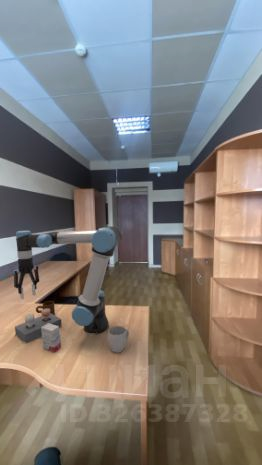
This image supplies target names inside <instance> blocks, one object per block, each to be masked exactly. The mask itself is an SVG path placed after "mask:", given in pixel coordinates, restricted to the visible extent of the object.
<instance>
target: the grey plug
mask: <svg viewBox="0 0 262 465" xmlns="http://www.w3.org/2000/svg"><path fill="white" fill-rule="evenodd" d="M35 318H36V317H35V314H27V315H26V316H24V320H25V321H24V323H25V322H26V323H27V325H28V329H29V328H32V327H33V321H34V320H35Z"/></svg>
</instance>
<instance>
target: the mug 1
mask: <svg viewBox="0 0 262 465" xmlns="http://www.w3.org/2000/svg"><path fill="white" fill-rule="evenodd" d="M47 308H49V309H50V313H51V314H53V315H55V316H56V314H55V313H56V312H55V311H56V310H55V302H54V301H51V300H49V301H45V302H43V303H42V305H38V306H36V308H35V312H36V313H37V314H42V310H43V309H47Z"/></svg>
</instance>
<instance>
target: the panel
mask: <svg viewBox="0 0 262 465" xmlns="http://www.w3.org/2000/svg"><path fill="white" fill-rule="evenodd" d="M48 323H50V324H53V325H56V326H59V329H60V328H62V326H63V324H62V318H60V317H58V316H56V314H55V315H53V314H51V313H50V315H49V320H48V321H46V322H44V316H42V315H41V316H39V317H35V320H34V321H33V327H32V328H29V329H28V325H27V323H26V322H25V321H24V322H23V323H21V324H17V325H15V326H14V332H15V336H17V337H18V338H19V339H20V340H21V341H22V342H24V344H28V343H30V342H32V341H34V340H37V339H38V338H42V331H41V327H42V326H44V325H46V324H48Z"/></svg>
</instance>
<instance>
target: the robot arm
mask: <svg viewBox="0 0 262 465" xmlns="http://www.w3.org/2000/svg"><path fill="white" fill-rule="evenodd" d="M15 235H16V237H15V243H16V248H17V258H18V259H17V264H18V265H17V266H18V267H17V268H16V269H13V270H12V273H13V288H15V289H17V293H18V294H19V295H20V296H19V297H20V300H24V299H25V297H24V296H25V294H24V288H23V283H24V278H25V276H26V275H27V274H28V275H29V278H30V280H31V282H32V283H31V295H32V296H35V297H36V296H37V294H36V290H37V285H38V283H40V275H39V266H38V265H34V259H33V248H40V249H44V248H49V247H51V245H65V244H68V245H69V244H70V245H72V244H74V245H75V244H91V245H92V247H91V252H92V254H93V255H92V258H91V262H90V266H89V269H88V273H87V277H86V280H85V284H84V287H83V291H82V294H80V295H79V296H78V300H77V303H76V306H75V307H74V308H73V309H72V312H71V318H72V320H73V322H74V323H75V324H76V325H78V326H80V327H83V330H84V332H85V333H87V334H90V335H92V334H93V335H98V334H102V333H104V332H106V331H107V330H109V327H110V326H109V320H108V317H107V315H106V314H107V313H106V294H105V292H104V291H103V290H102V289H101V288H102V286H103V283H104V278H105V276H106V271H107V267H108V265H109V264H108V263H109V261H110V260H109V259H110V258H111V257H114V253H115V250H116V248H117V246H118V245H120V243H121V241H122V232H121V230H120V229H119V228H118V227H116V226H112V225H111V226H106V227H105V226H104V227H100V228H98V229H91V230H73V231H70V230H67V231H49V232H44V233H36V234H35V233H34V234H33V233H32V231H31V230H18V231H16V232H15Z"/></svg>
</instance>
